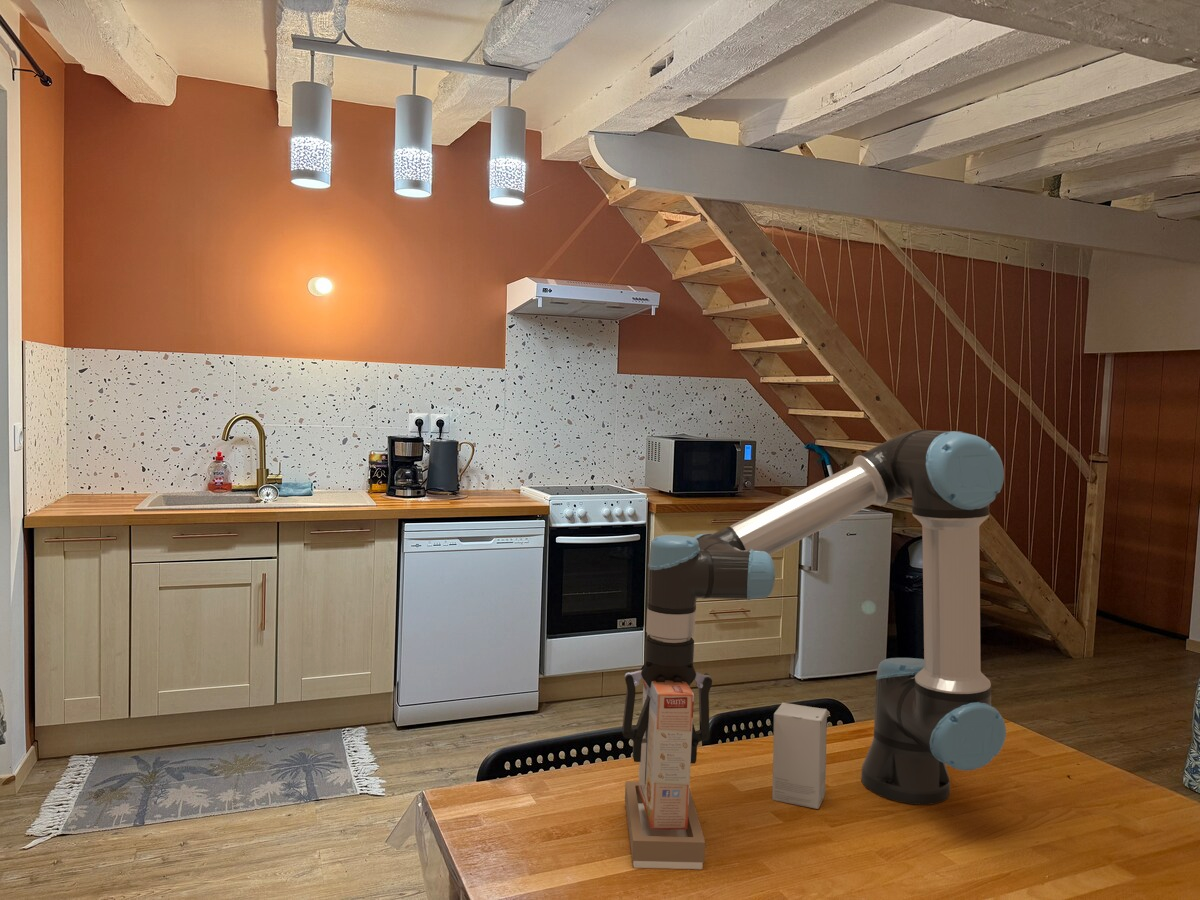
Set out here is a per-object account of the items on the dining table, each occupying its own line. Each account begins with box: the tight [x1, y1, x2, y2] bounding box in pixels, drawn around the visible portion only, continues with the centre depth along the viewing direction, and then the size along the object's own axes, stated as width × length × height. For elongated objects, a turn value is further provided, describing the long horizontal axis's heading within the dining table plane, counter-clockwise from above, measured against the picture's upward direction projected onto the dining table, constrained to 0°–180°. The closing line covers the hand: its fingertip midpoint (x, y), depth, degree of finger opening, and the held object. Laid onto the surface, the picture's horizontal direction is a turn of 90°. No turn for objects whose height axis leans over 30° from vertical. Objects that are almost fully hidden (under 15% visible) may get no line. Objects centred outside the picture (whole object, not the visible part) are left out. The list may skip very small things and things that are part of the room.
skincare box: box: [771, 702, 828, 810], centre depth 152 cm, size 8×7×16 cm
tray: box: [624, 780, 706, 870], centre depth 138 cm, size 10×20×4 cm, turn 2°
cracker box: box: [639, 679, 695, 829], centre depth 137 cm, size 14×6×21 cm, turn 5°
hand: (663, 781), depth 138 cm, fingers closed on cracker box, 6 cm apart
